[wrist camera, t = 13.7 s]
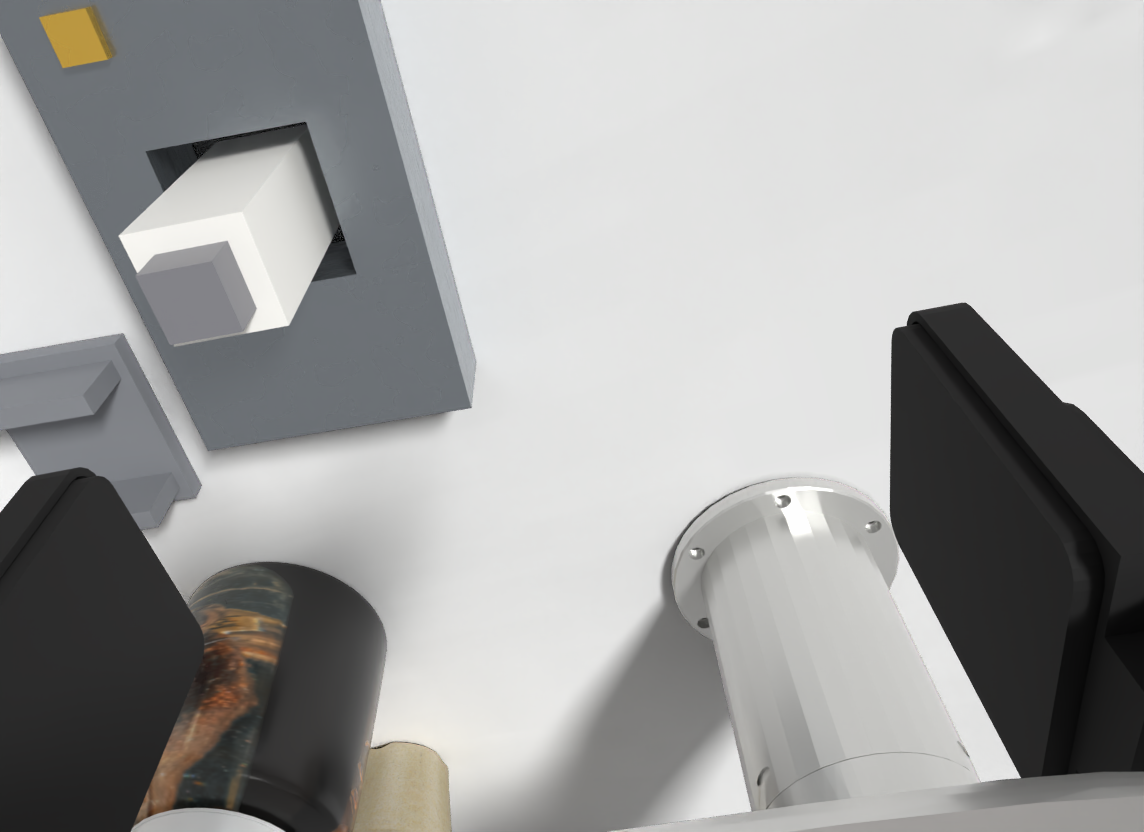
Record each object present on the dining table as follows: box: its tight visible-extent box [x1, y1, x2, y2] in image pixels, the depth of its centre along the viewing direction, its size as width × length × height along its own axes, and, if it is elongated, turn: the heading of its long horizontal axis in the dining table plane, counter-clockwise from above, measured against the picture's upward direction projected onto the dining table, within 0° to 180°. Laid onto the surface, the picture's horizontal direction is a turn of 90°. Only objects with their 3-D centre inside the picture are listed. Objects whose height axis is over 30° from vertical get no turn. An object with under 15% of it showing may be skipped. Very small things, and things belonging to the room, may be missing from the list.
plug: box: [119, 124, 340, 347], centre depth 31 cm, size 4×4×12 cm
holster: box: [0, 334, 202, 530], centre depth 41 cm, size 9×7×4 cm
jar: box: [131, 562, 387, 832], centre depth 45 cm, size 12×12×15 cm
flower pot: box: [353, 742, 452, 832], centre depth 55 cm, size 9×9×9 cm
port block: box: [0, 0, 476, 451], centre depth 34 cm, size 20×12×4 cm, turn 10°
